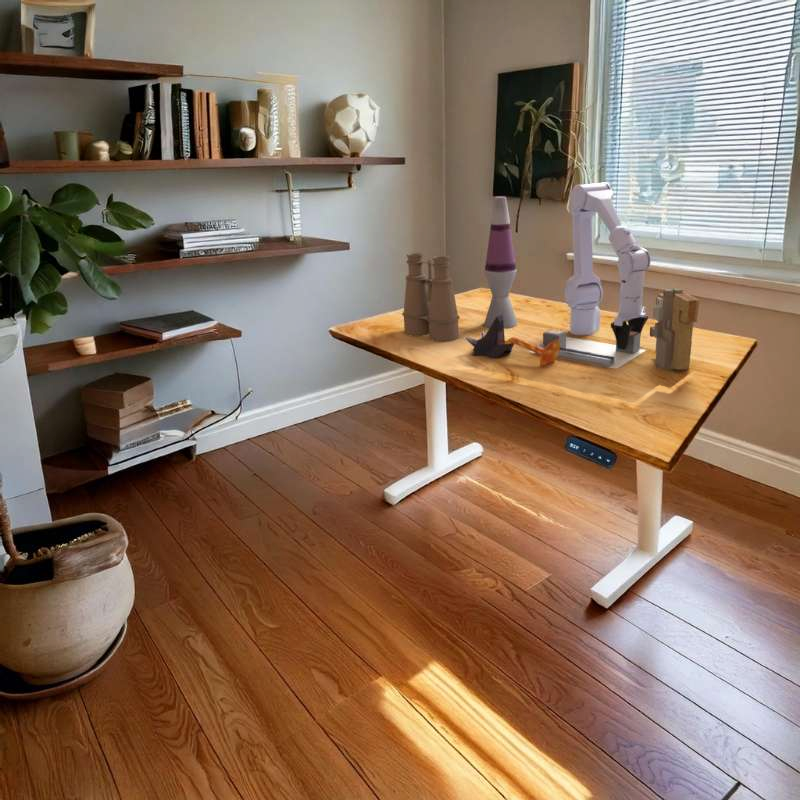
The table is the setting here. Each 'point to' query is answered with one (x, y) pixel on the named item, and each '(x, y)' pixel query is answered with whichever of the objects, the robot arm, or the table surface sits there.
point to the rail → (584, 356)
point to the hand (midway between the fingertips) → (628, 345)
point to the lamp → (500, 265)
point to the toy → (674, 328)
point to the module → (631, 343)
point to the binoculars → (430, 300)
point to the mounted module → (555, 337)
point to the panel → (600, 350)
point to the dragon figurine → (509, 344)
